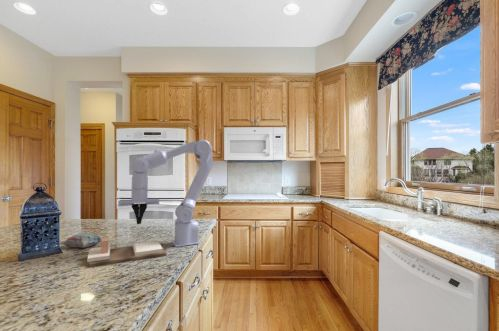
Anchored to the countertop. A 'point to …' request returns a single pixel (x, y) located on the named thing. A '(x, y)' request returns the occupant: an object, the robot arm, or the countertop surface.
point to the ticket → (147, 248)
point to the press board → (124, 256)
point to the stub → (100, 251)
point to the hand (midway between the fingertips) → (138, 223)
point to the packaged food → (82, 240)
